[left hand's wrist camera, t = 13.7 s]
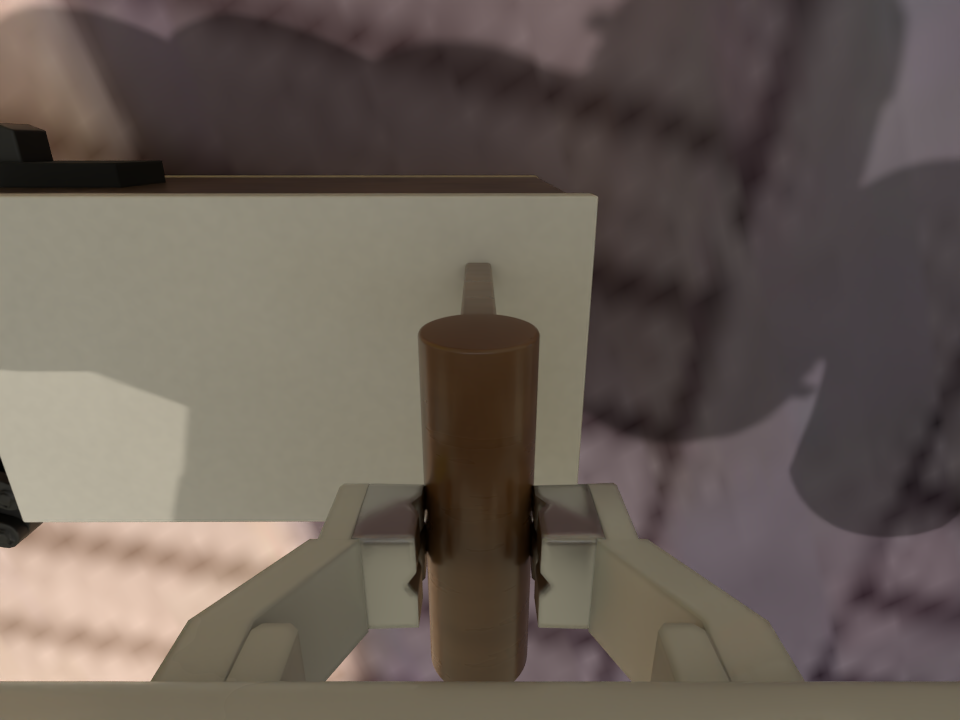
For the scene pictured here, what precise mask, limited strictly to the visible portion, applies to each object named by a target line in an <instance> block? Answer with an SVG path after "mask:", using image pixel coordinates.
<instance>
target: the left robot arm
mask: <svg viewBox="0 0 960 720" xmlns="http://www.w3.org/2000/svg"><path fill="white" fill-rule="evenodd" d="M425 511H426V505H425V485H422V484H373V483H371V484H369V483H344V484H343V485H341V486H340V487H339V489H338V492H337V494H336V497H335V499H334V501H333V504H332V506H331V509H330V511H329V513H328V516H327V518H326V521H325V523H324V525H323V528H322V530H321V533H320V535H319V537H318V539H309V540H308V541H306V542H305V543H303V544H302V545H300V546H299V547H297V548H296V549H294V550H293V551H291V552H290V553H288V554H287V555H285V556H284V557H282V558H281V559H279V560H278V561H276V562H275V563H274V564H272V565H271V566H269V567H268V568H266V569H265V570H263V571H262V572H260V573H259V574H257V575H256V576H254V577H253V578H251V579H250V580H248V581H247V582H245V583H244V584H242V585H241V586H239V587H238V588H236V589H235V590H233V591H232V592H230V593H229V594H227V595H226V596H224V597H223V598H221V599H220V600H218V601H217V602H215V603H214V604H212V605H211V606H209V607H208V608H206V609H205V610H203V611H202V612H200V613H199V614H197V615H196V616H194V617H193V618H191V619H190V620H188V622H187V624H186V625H185V627H184V628H183V630H182V632H181V633H180V635H179V636H178V638H177V640H176V641H175V643H174V644H173V646H172V648H171V649H170V651H169V653H168V654H167V656H166V657H165V659H164V661H163V662H162V664H161V665H160V667H159V669H158V670H157V672H156V673H155V675H154V677H153V678H152V680H151V682H130V681H0V720H960V681H872V682H805V681H804V679H803V677H802V676H801V674H800V673H799V671H798V669H797V668H796V666H795V664H794V663H793V661H792V659H791V658H790V656H789V654H788V653H787V651H786V649H785V648H784V646H783V645H782V643H781V641H780V640H779V638H778V636H777V635H776V633H775V631H774V630H773V628H772V626H771V625H770V623H769V621H767V620H766V619H764V618H763V617H761V616H760V615H758V614H757V613H755V612H754V611H752V610H751V609H749V608H748V607H746V606H745V605H743V604H742V603H741V602H739V601H738V600H736V599H735V598H733V597H732V596H730V595H729V594H727V593H726V592H724V591H723V590H721V589H720V588H718V587H717V586H715V585H714V584H712V583H711V582H709V581H708V580H707V579H705V578H704V577H702V576H701V575H699V574H698V573H696V572H695V571H693V570H692V569H690V568H689V567H687V566H686V565H684V564H683V563H681V562H680V561H678V560H677V559H676V558H674V557H673V556H671V555H670V554H668V553H667V552H665V551H664V550H662V549H661V548H659V547H658V546H656V545H655V544H653V543H652V542H650V541H649V540H647V539H639V538H638V536H637V533H636V531H635V528H634V526H633V524H632V521H631V519H630V516H629V514H628V511H627V509H626V507H625V504H624V502H623V499H622V497H621V494H620V492H619V490H618V487H617V485H615V484H614V483H597V484H574V485H533V493H532V516H533V523H532V529H531V545H530V562H531V573H532V578H533V579H534V580H535V594H534V598H535V606H536V613H537V621H538V627H541V628H577V629H589V632H590V633H591V635H592V636H593V637H594V638H595V639H596V640H597V642H598V643H599V644H600V645H601V646H602V647H603V649H604V650H605V651H606V652H607V653H608V654H609V656H610V657H611V658H612V659H613V660H614V661H615V663H616V664H617V665H618V666H619V667H620V668H621V670H622V671H623V672H624V673H625V674H626V675H627V677H628V678H629V679H630V680H631V681H632V682H437V681H326V680H327V679H328V678H329V677H330V675H331V674H332V673H333V672H334V671H335V670H336V668H337V667H338V666H339V665H340V664H341V663H342V662H343V660H344V659H345V658H346V657H347V656H348V655H349V653H350V652H351V651H352V650H353V649H354V648H355V647H356V645H357V644H358V643H359V642H360V641H361V640H362V638H363V637H364V636H365V635H366V634H367V633H368V629H380V628H414V627H419V622H420V614H421V607H422V599H423V589H422V581H423V580H424V579H425V576H426V567H427V530H426V523H425V522H424V518H425Z"/></svg>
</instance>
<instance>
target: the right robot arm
mask: <svg viewBox="0 0 960 720" xmlns="http://www.w3.org/2000/svg"><path fill="white" fill-rule="evenodd" d="M165 182H166V180H165V175H164V170H163V165H162V161H53V158H52V154H51V151H50V147H49V143H48V139H47V135H46V131H44V130H42V129H39V128H36V127H34V126H31V125H28V124H6V123H0V188H122V187H131V186H139V185H148V184H156V183H165ZM42 523H43V522H24V521H23V519H22V516H21V514H20V511H19V508H18V505H17V502H16V499H15V497H14V494H13V491H12V488H11V485H10V483H9V480H8V477H7V474H6V471H5V468H4V466H3V463H2V460H1V457H0V547H4V548H11V547H15V546H16V545H17V544H18V543H19V542H21V541H22V540H23V539H24V538H26V537H27V536H28V535H29V534H30V533H31V532H33V531H34V530H35V529H36V528H37V527H38V526H40V525H41V524H42Z"/></svg>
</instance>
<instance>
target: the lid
mask: <svg viewBox="0 0 960 720" xmlns="http://www.w3.org/2000/svg"><path fill="white" fill-rule="evenodd" d="M597 208H598V196H596V195H593V194H591V193H215V194H0V457H1V460H2V463H3V466H4V468H5V471H6V474H7V477H8V480H9V483H10V485H11V488H12V491H13V494H14V497H15V499H16V502H17V505H18V508H19V511H20V514H21V516H22V519H23V521H24V522H279V521H326V518H327V516H328V513H329V511H330V509H331V506H332V504H333V501H334V499H335V497H336V494H337V492H338V489H339V487H340V486H341V485H343V484H344V483H369V484H371V483H373V484H422V485H425V505H426V511H425V518H424V521H426V530H427V567H428V590H429V614H430V637H431V657H432V662H433V665H434V668H435V670H436V672H437V673H438V675H439V676H440V677H441V678H442V679H443V681H444V682H514V681H515V680H516V679H517V677H518V676H519V675H520V673H521V672H522V670H523V668H524V666H525V663H526V659H527V642H528V618H529V593H530V568H531V562H530V545H531V529H532V521H533V516H532V493H533V485H574V484H577V481H578V468H579V454H580V440H581V427H582V413H583V399H584V386H585V372H586V358H587V345H588V331H589V317H590V304H591V290H592V276H593V263H594V249H595V235H596V222H597Z"/></svg>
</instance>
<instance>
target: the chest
mask: <svg viewBox="0 0 960 720" xmlns="http://www.w3.org/2000/svg"><path fill="white" fill-rule="evenodd" d="M165 180H166V182H165V183H156V184H148V185H139V186H131V187H122V188H0V194H215V193H565V192H563V191H561V190H559V189H557V188H556V187H554V186H552V185H550V184H548V183H546V182H545V181H543V180H541V179H539V178H538V177H537V176H535V175H165Z"/></svg>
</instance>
